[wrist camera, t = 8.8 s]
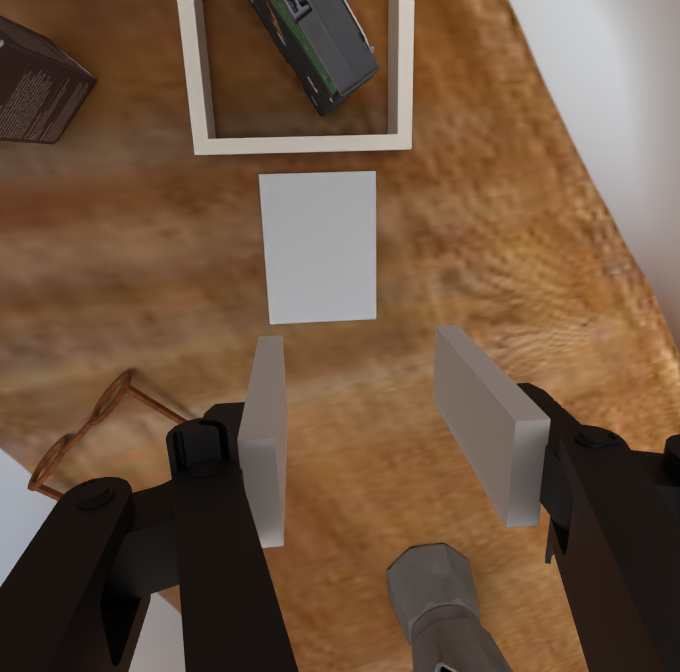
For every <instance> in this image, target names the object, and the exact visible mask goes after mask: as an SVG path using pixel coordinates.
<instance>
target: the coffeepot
mask: <svg viewBox="0 0 680 672" xmlns="http://www.w3.org/2000/svg"><path fill="white" fill-rule="evenodd" d="M387 576H388V592H389V599H390V601H391V604H392V606H393V608H394V610H395V613H396V615H397V617H398V619H399V622H400V624H401V626H402V629H403V631H404V633H405V635H406V638H407V640H408V642H409V644H410V645H411V646H412V657H413V670H414V672H513V671H512V670H511V668H510V666H509V665H508V663H507V661H506V660H505V658H504V656H503V655H502V653H501V651H500V650H499V648H498V646H497V645H496V643H495V641H494V640H493V638H492V636H491V635H490V633H489V632H488V631H486V630H485V629H484V628H482V627H481V624H480V614H479V608H478V603H477V598H476V594H475V589H474V584H473V579H472V575H471V570H470V565H469V560H467V559H466V558H465V557H463V556H462V555H461V554H460V553H458V552H457V551H456V550H454V549H453V548H451V547H448V546H447V545H445V544H425V545H420V546H417V547H414V548H410V549H409V550H407V551H406V552H404V553H403V554H402V555H401V556H400V557H398V558H397V560H396V561H395V562H394V563H393V565H392V567H391V568H390V569H389V570H388V571H387Z"/></svg>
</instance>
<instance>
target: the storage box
mask: <svg viewBox="0 0 680 672" xmlns="http://www.w3.org/2000/svg"><path fill="white" fill-rule="evenodd" d="M177 2H178V11H179V20H180V29H181V38H182V47H183V56H184V64H185V73H186V82H187V91H188V100H189V109H190V118H191V127H192V135H193V144H194V153H195V155H227V154H264V153H302V152H339V151H376V150H406V149H412V98H413V46H414V0H388V135H347V136H306V137H266V138H225V139H216V133H215V122H214V112H213V102H212V92H211V82H210V72H209V62H208V52H207V41H206V31H205V21H204V11H203V1H202V0H177Z"/></svg>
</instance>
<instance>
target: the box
mask: <svg viewBox="0 0 680 672" xmlns="http://www.w3.org/2000/svg"><path fill="white" fill-rule="evenodd" d="M95 81H96V78H95V77H94V76H92V75H91V74H90V73H89V72H88V71H87V70H86V69H84V68H83V67H82V66H81V65H79V64H78V63H77V62H76V61H75V60H74V59H72V58H71V57H69V56H68V55H67V54H66V53H65V52H63V51H62V50H61V49H60V48H58V47H57V46H56V45H55V44H54V43H53V42H51V41H50V40H49V39H47V38H46V37H45V36H43V35H41V34H38V33H36V32H34V31H32V30H30V29H28V28H26V27H23V26H22V25H19V24H17V23H15V22H13V21H10V20H8V19H7V18H4V17H2V16H0V141H12V142H29V143H42V144H55V142H56V141H57V139H58V138H59V136H60V135H61V133H62V132H63V130H64V129H65V127H66V126H67V124H68V123H69V121H70V120H71V118H72V117H73V115H74V113H75V112H76V110H77V109H78V107H79V106H80V104H81V103H82V101H83V100H84V98H85V96H86V95H87V93H88V92H89V90H90V88H91V87H92V85H93V84H94V82H95Z"/></svg>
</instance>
